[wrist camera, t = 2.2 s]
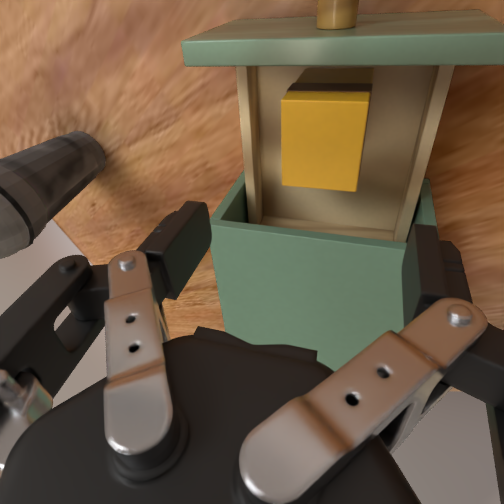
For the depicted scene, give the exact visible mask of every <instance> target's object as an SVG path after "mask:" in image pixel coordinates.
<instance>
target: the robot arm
mask: <svg viewBox="0 0 504 504" xmlns="http://www.w3.org/2000/svg"><path fill="white" fill-rule="evenodd" d="M211 241H212V230H211V224H210V219H209V213H208V207H207V205H206V203H205V202H197V201H186V202H185V204H184V205H183V206H182V207H181V208H180V209H179V211H174V212H173V213H171V214H169V215H168V216H166V217H165V218H164V219H163V220H162V221H161V222H160V224H159V226H157V227H156V228H155V229H154V232H152V233H151V234H150V235H149V236H148V237H147V238H146V239H145V241H144V242H143V243H142V244H141V245H140V246H139V247H138V249H137V250H136V251H135V250H132V251H126V252H123V253H120V254H118V255H117V256H115V257H114V258H113V259H112V260H111V261H110V262H109V264H104V265H93V266H90V264H89V262H88V259H87V258H86V257H85V256H82V255H72V256H68V257H65V258H62V259H60V260H58V261H57V262H56V263H54V264H53V265H52V266H51V267H50V268H49V269H48V270H47V271H46V272H45V273H44V274H43V275H42V276H41V277H40V278H39V279H38V280H37V281H36V282H35V283H34V284H33V285H32V286H30V287H29V288H28V289H27V290H26V291H25V292H24V293H23V294H22V295H21V296H20V297H19V298H18V299H17V300H16V301H15V302H14V303H13V304H12V305H11V306H10V307H9V308H8V309H7V310H6V311H5V312H4V313H3V314H2V315H1V316H0V504H421V502H420V500H419V499H418V497H417V496H416V494H415V492H414V491H413V490H412V488H411V486H410V484H409V483H408V481H407V480H406V478H405V476H404V475H403V473H402V472H401V470H400V468H399V467H398V465H397V463H396V462H395V460H394V459H393V457H392V454H393V453H394V452H395V450H396V449H398V447H399V446H400V445H401V444H402V443H403V442H404V441H405V440H406V438H407V437H408V436H409V435H410V434H411V432H412V431H413V429H414V428H415V426H416V425H417V424H418V423H419V421H421V419H422V418H423V417H424V416H425V415H426V414H427V413H428V412H429V411H430V410H431V409H432V408H433V407H434V406H435V405H436V404H437V403H438V402H439V401H440V400H441V399H442V398H443V397H444V396H445V395H446V394H447V393H448V392H449V391H450V390H451V389H452V388H453V387H454V388H456V389H458V390H461V391H463V392H465V393H467V394H469V395H471V396H473V397H475V398H477V399H480V400H481V401H483V402H485V403H486V408H487V415H488V422H489V428H490V435H491V442H492V448H493V455H494V461H495V468H496V475H497V481H498V488H499V495H500V501H501V504H504V330H501V329H499V328H497V327H495V326H493V325H491V324H490V323H488V321H487V318H486V316H485V314H484V313H483V312H482V311H481V310H480V309H479V308H478V307H477V306H475V305H474V304H473V303H472V299H471V295H470V291H469V287H468V283H467V279H466V275H465V273H464V267H463V264H462V259H461V255H460V251H459V250H458V249H457V248H456V247H455V246H454V245H453V244H452V242H450V241H441V240H439V236H438V231H437V227H436V226H434V225H424V224H413V225H412V227H411V231H410V234H409V238H408V242H407V246H406V249H405V253H404V257H403V262H402V271H401V275H402V297H403V320H404V328H403V329H402V330H400V331H399V332H398V333H396V332H394V331H393V330H389V331H386V332H385V333H383V334H382V335H381V336H380V337H378V338H377V339H376V340H375V341H373V342H372V343H371V344H370V345H368V346H367V347H366V348H364V349H363V350H362V351H361V352H359V353H358V354H357V355H356V356H354V357H353V358H352V359H351V360H349V361H348V362H347V363H345V364H344V365H343V366H342V367H340V368H339V369H338V370H337V371H333V370H332V369H331V368H329V367H328V366H326V365H324V364H323V363H321V362H319V361H317V352H318V351H317V350H312V349H307V348H302V347H297V346H292V345H287V344H267V345H253V344H250V343H248V342H246V341H244V340H241V339H239V338H237V337H235V336H233V335H231V334H229V333H227V332H224V331H219V330H214V329H209V328H205V327H200V326H198V327H197V329H196V331H195V333H194V335H188V336H182V337H178V338H175V339H172V340H171V339H170V335H169V330H168V326H167V321H166V317H165V312H164V308H163V305H162V302H163V300H164V299H165V298H168V299H174V300H176V299H177V298H178V296H179V295H180V293H181V291H182V290H183V288H184V287H185V285H186V283H187V282H188V280H189V279H190V277H191V275H192V274H193V272H194V271H195V269H196V268H197V266H198V264H199V263H200V261H201V260H202V258H203V256H204V255H205V253H206V252H207V250H208V248H209V247H210V245H211ZM67 305H68V307H69V309H70V310H71V313H70V314H69V315H68V316H67V318H66V319H65V320H64V321H63V322H62V324H61V325H60V326H59V327H58V329H57V330H56V331H54V322H55V320H56V318H57V316H59V314H60V313H61V312H62V311H63V310H64V309H65V307H66V306H67ZM104 326H105V335H106V363H107V377H105V378H103V379H102V380H100V381H98V382H97V383H95V384H93V385H92V386H90V387H88V388H86V389H85V390H83V391H82V392H80V393H79V394H77V395H75V396H73V397H71V398H70V399H68V400H66V401H65V402H63V403H61V404H59V405H58V406H56V407H54V408H53V409H52V406H53V398H54V397H55V395H56V394H57V393H58V391H59V390H60V388H61V387H62V386H63V384H64V383H65V381H66V380H67V378H68V377H69V376H70V374H71V373H72V371H73V370H74V369H75V367H76V366H77V364H78V363H79V361H80V360H81V359H82V357H83V356H84V354H85V353H86V352H87V350H88V349H89V347H90V346H91V344H92V343H93V342H94V340H95V339H96V337H97V336H98V335H99V333H100V331H101V330H102V329H103V327H104Z"/></svg>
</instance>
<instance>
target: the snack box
mask: <svg viewBox="0 0 504 504" xmlns="http://www.w3.org/2000/svg"><path fill="white" fill-rule="evenodd" d="M373 75H374V69H373V68H315V69H305V70H304V71H303V73H302V74H301V75H300V76H299V78H298V79H297V80H296V82H295V83H292V84H291V86H290V87H289V88H288V89H287V93H286V95H285V96H284V97H283V99H282V100H281V153H282V185H283V186H293V187H304V188H315V189H326V190H337V191H349V192H356V191H357V184H358V180H359V176H360V169H361V163H362V156H363V149H364V142H365V135H366V129H367V122H368V115H369V108H370V101H371V95H372V88H373V84H372V82H373Z"/></svg>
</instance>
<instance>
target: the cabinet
mask: <svg viewBox="0 0 504 504" xmlns="http://www.w3.org/2000/svg"><path fill="white" fill-rule="evenodd" d="M210 224H211V230H212V241H211V245H210V249H211V254H212V260H213V265H214V271H215V276H216V282H217V287H218V293H219V298H220V304H221V309H222V315H223V321H224V326H225V332H227V333H229V334H231V335H233V336H235V337H237V338H239V339H241V340H244V341H246V342H248V343H250V344H253V345H267V344H287V345H292V346H297V347H302V348H307V349H312V350H317V351H318V352H317V361H319V362H321V363H323V364H324V365H326V366H328V367H329V368H331V369H332V370H333V371H337V370H338V369H339V368H340V367H342V366H343V365H344V364H345V363H347V362H348V361H349V360H351V359H352V358H353V357H354V356H356V355H357V354H358V353H359V352H361V351H362V350H363V349H364V348H366V347H367V346H368V345H370V344H371V343H372V342H373V341H375V340H376V339H377V338H378V337H380V336H381V335H382V334H383V333H385V332H386V331H389V330H393V331H394V332H396V333H398V332H399V331H400V330H402V329H403V328H404V320H403V297H402V275H401V271H402V262H403V257H404V253H405V249H406V246H407V242H408V238H409V234H410V231H411V227H412V225H413V224H424V225H434V226H436V227H437V222H436V216H435V211H434V205H433V199H432V193H431V187H430V181H429V179H423V183H422V186H421V190H420V193H419V197H418V200H417V204H416V208H415V211H414V215H413V218H412V222H411V226H410V229H409V233H408V236H407V240H406V243H403V242H395V241H387V240H379V239H371V238H363V237H355V236H347V235H339V234H330V233H322V232H314V231H306V230H298V229H290V228H282V227H274V226H266V225H258V224H250V223H249V219H248V207H247V196H246V184H245V172H244V170H243V172H242V173H241V175H240V176H239V178H238V179H237V181H236V182H235V183H234V185H233V186H232V188H231V189H230V191H229V192H228V194H227V195H226V196H225V198H224V199H223V201H222V202H221V204H220V205H219V207H218V208H217V209H216V211H215V212H214V214H213V215H212V217H211V218H210ZM437 231H438V228H437ZM438 236H439V234H438Z"/></svg>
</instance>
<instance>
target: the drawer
mask: <svg viewBox="0 0 504 504" xmlns="http://www.w3.org/2000/svg"><path fill="white" fill-rule="evenodd" d="M358 2H359V0H318V7H317V16H314V17H291V18H267V19H244V20H233V21H231V22H228V23H226V24H223V25H221V26H218V27H216V28H213V29H210V30H208V31H205V32H203V33H200V34H198V35H195V36H193V37H190V38H188V39H185V40H183V41H181V45H182V51H183V57H184V63H185V66H187V67H211V66H236V78H237V90H238V101H239V113H240V125H241V137H242V148H243V160H244V172H245V184H246V196H247V207H248V219H249V223H250V224H258V225H266V226H274V227H282V228H290V229H298V230H306V231H314V232H322V233H330V234H339V235H347V236H355V237H363V238H371V239H379V240H387V241H395V242H403V243H406V240H407V236H408V233H409V229H410V226H411V222H412V218H413V215H414V211H415V208H416V204H417V200H418V197H419V193H420V190H421V186H422V183H423V179H424V175H425V172H426V168H427V165H428V161H429V157H430V154H431V150H432V147H433V143H434V139H435V136H436V132H437V129H438V125H439V121H440V118H441V114H442V111H443V107H444V104H445V100H446V96H447V93H448V89H449V86H450V82H451V78H452V75H453V71H454V68H455V65H504V24H502V23H501V22H499V21H497V20H496V19H494V18H492V17H491V16H489V15H487V14H486V13H484V12H482V11H481V10H456V11H432V12H408V13H385V14H361V15H357V12H358ZM315 68H373V69H374V75H373V82H372V84H373V88H372V95H371V101H370V108H369V115H368V122H367V129H366V135H365V142H364V149H363V156H362V163H361V169H360V176H359V180H358V184H357V191H356V192H349V191H337V190H326V189H315V188H304V187H293V186H283V185H282V153H281V100H282V99H283V97H284V96H285V95H286V93H287V89H288V88H289V87H290V86H291V84H292V83H295V82H296V80H297V79H298V78H299V76H300V75H301V74H302V73H303V71H304V70H305V69H315Z"/></svg>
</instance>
